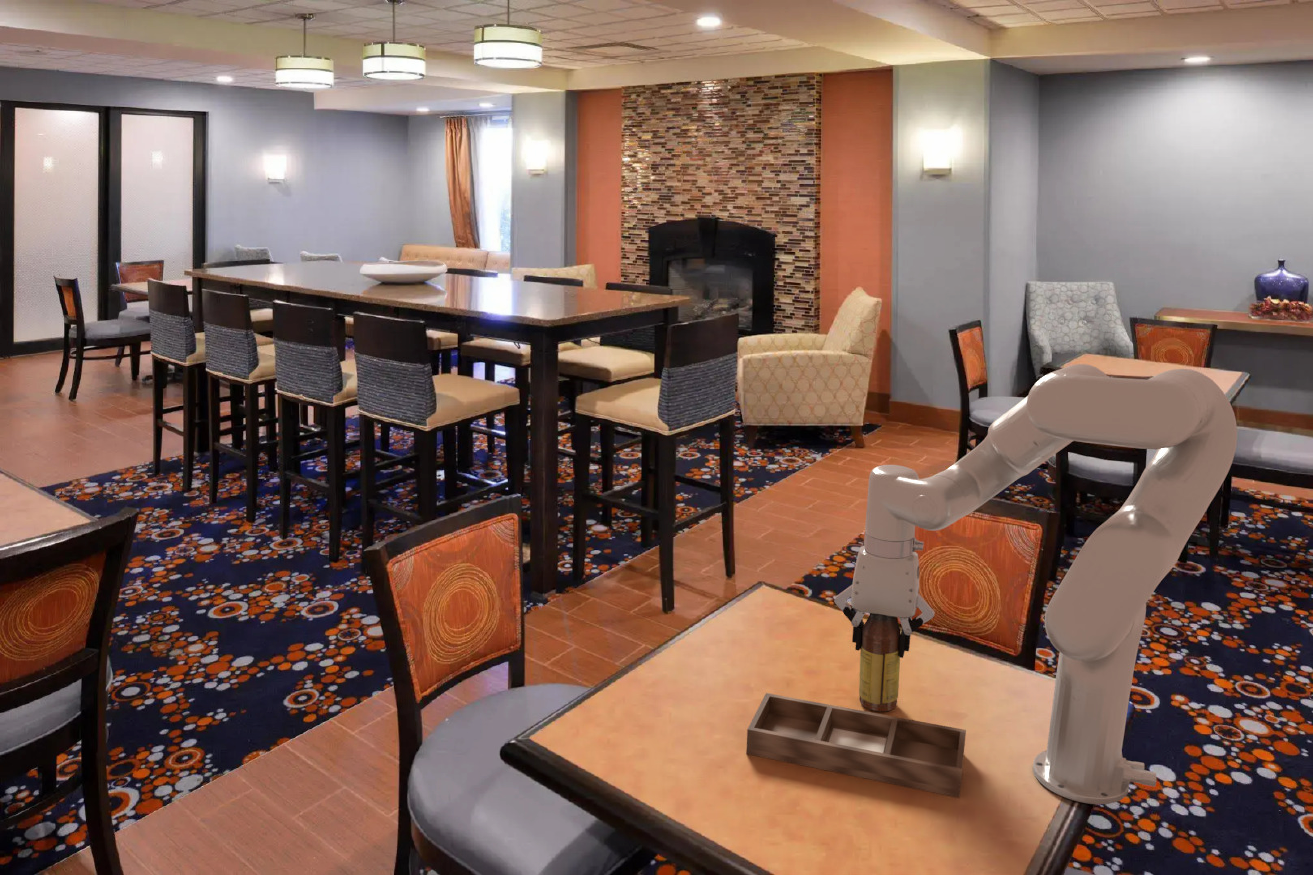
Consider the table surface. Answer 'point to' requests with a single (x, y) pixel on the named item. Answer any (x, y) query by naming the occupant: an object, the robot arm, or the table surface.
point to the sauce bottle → (879, 663)
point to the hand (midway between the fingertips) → (880, 649)
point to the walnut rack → (858, 743)
